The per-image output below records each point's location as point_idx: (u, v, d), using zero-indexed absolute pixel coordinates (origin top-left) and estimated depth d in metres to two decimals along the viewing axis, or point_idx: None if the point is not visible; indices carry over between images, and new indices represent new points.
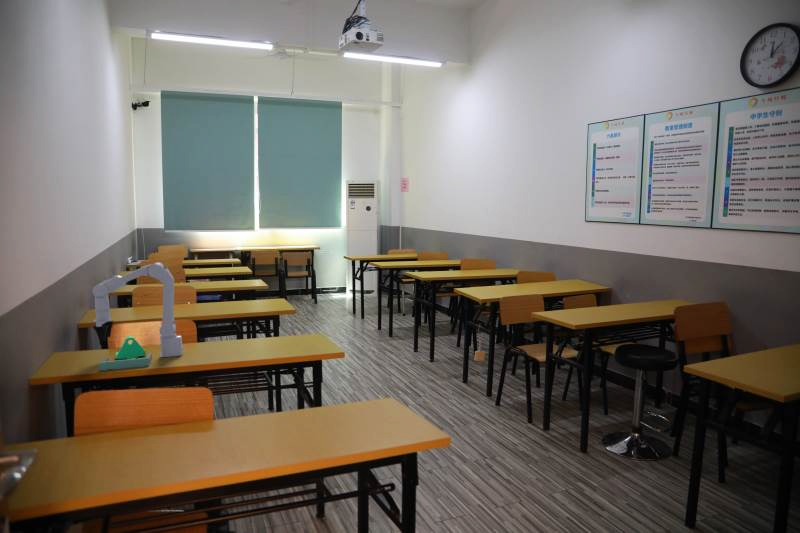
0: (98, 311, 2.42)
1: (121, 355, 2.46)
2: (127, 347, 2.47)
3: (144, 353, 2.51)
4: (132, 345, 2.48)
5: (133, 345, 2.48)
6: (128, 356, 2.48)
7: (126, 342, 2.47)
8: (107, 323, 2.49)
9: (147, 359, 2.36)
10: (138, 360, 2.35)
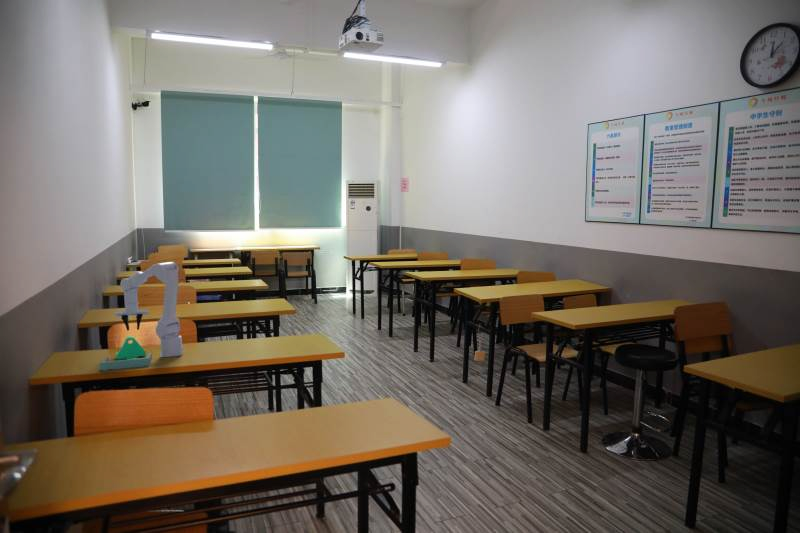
0: None
1: (121, 355, 2.46)
2: (127, 347, 2.47)
3: (144, 353, 2.51)
4: (132, 345, 2.48)
5: (133, 345, 2.48)
6: (128, 356, 2.47)
7: (126, 342, 2.46)
8: None
9: (147, 359, 2.36)
10: (138, 360, 2.35)
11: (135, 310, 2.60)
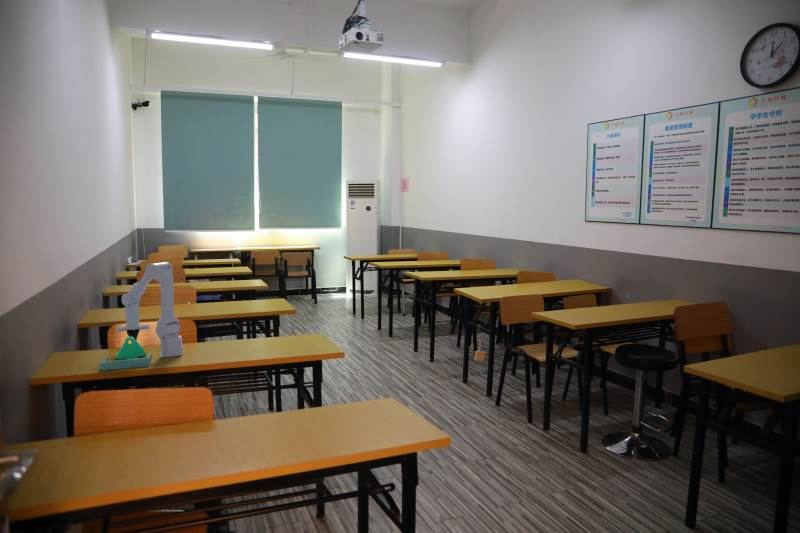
0: None
1: (121, 355, 2.45)
2: (127, 347, 2.47)
3: (144, 353, 2.51)
4: (132, 345, 2.48)
5: (133, 345, 2.48)
6: (128, 356, 2.47)
7: (126, 342, 2.46)
8: None
9: (147, 359, 2.36)
10: (138, 360, 2.35)
11: (136, 325, 2.61)
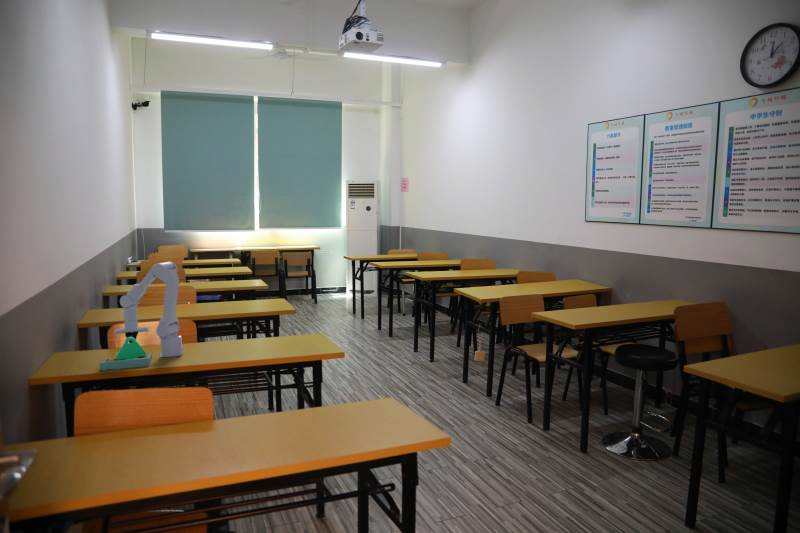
0: None
1: (121, 355, 2.45)
2: (127, 347, 2.46)
3: (144, 354, 2.50)
4: (132, 345, 2.47)
5: (133, 345, 2.48)
6: (128, 356, 2.47)
7: (126, 342, 2.46)
8: (132, 334, 2.57)
9: (147, 359, 2.36)
10: (138, 360, 2.35)
11: (135, 327, 2.56)
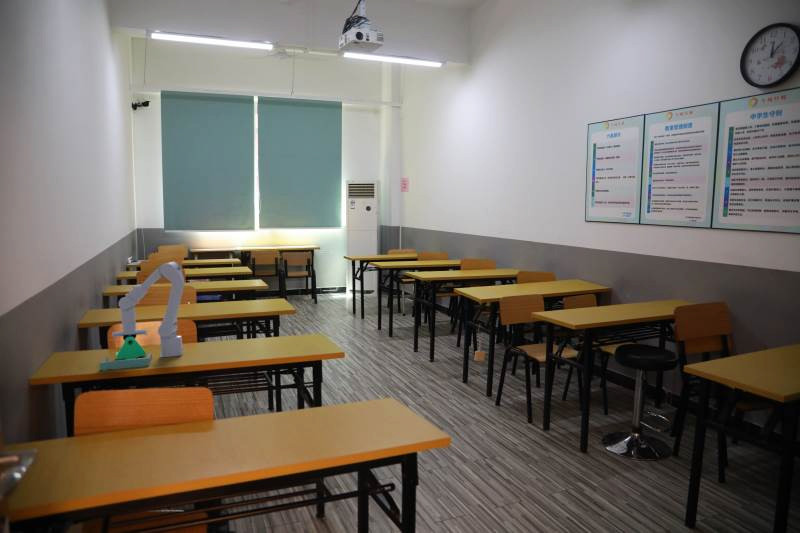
0: None
1: (121, 355, 2.45)
2: (127, 347, 2.46)
3: (144, 353, 2.50)
4: (132, 345, 2.47)
5: (133, 345, 2.47)
6: (128, 356, 2.46)
7: (126, 342, 2.45)
8: None
9: (147, 359, 2.36)
10: (138, 360, 2.35)
11: (133, 330, 2.50)
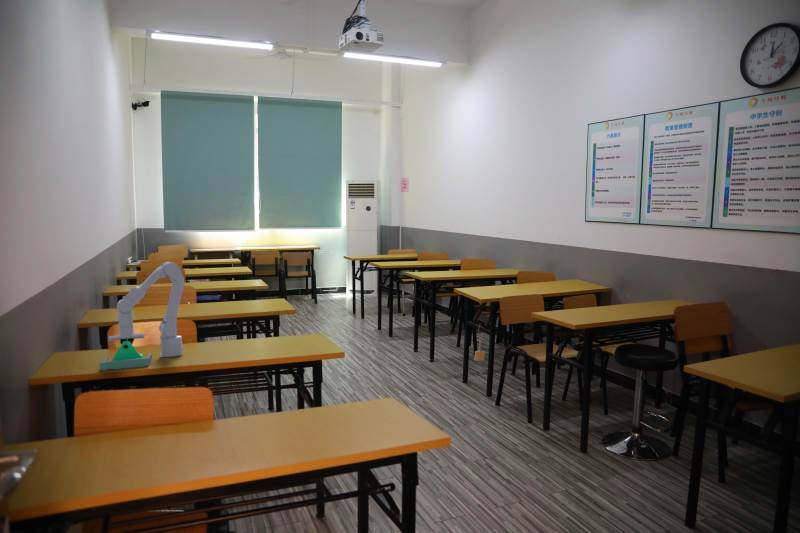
0: None
1: (116, 359, 2.37)
2: (122, 352, 2.38)
3: None
4: (127, 350, 2.38)
5: (128, 350, 2.39)
6: None
7: (121, 347, 2.37)
8: None
9: (147, 359, 2.36)
10: (138, 360, 2.35)
11: (130, 334, 2.42)
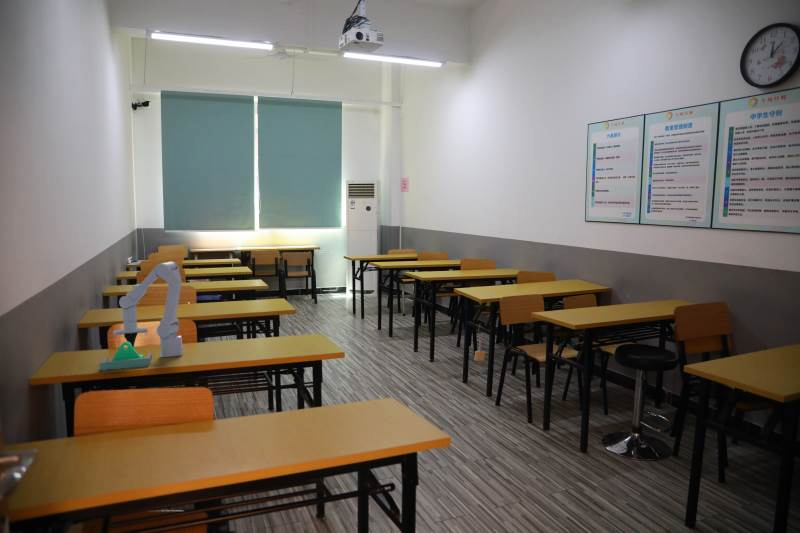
0: None
1: (115, 360, 2.37)
2: (122, 353, 2.37)
3: None
4: (127, 351, 2.38)
5: (128, 351, 2.38)
6: None
7: (121, 347, 2.37)
8: None
9: (147, 359, 2.36)
10: (138, 360, 2.35)
11: (134, 329, 2.53)
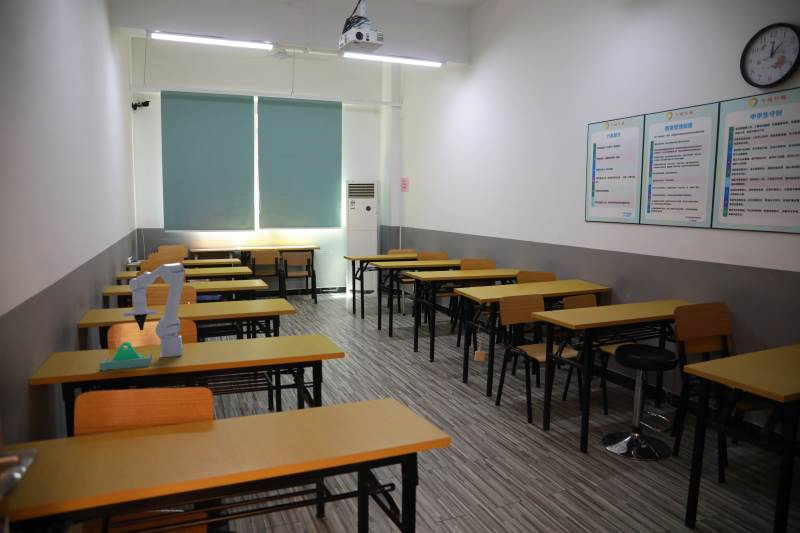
0: None
1: (115, 360, 2.36)
2: (121, 353, 2.37)
3: None
4: (127, 351, 2.37)
5: (128, 351, 2.38)
6: None
7: (120, 348, 2.36)
8: (141, 317, 2.61)
9: (147, 359, 2.36)
10: (138, 360, 2.35)
11: (144, 310, 2.60)
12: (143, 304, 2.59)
